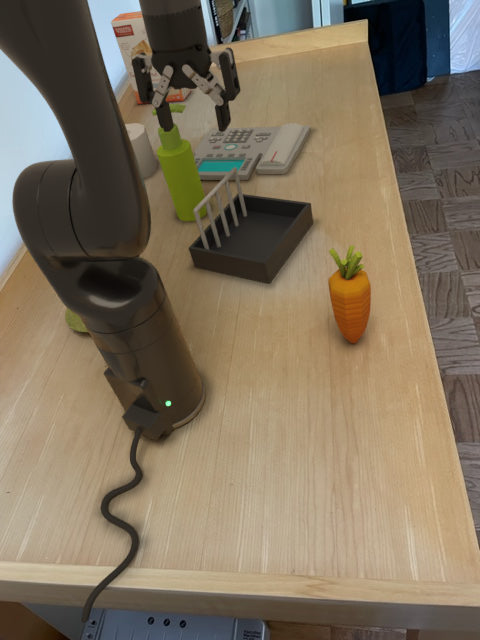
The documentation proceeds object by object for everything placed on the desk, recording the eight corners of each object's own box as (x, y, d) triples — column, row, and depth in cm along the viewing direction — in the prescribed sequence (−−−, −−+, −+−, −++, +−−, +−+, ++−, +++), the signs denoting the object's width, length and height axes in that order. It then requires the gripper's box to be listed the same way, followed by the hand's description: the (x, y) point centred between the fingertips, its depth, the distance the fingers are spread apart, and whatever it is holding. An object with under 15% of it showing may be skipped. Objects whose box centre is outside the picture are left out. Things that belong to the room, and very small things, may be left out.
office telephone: (310, 119, 112) (284, 168, 99) (311, 130, 114) (286, 181, 101) (209, 122, 120) (173, 169, 107) (211, 133, 122) (177, 180, 109)
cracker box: (137, 105, 144) (108, 21, 129) (146, 95, 148) (119, 12, 133) (184, 102, 139) (160, 13, 125) (192, 92, 143) (169, 5, 129)
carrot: (326, 339, 70) (315, 248, 60) (358, 323, 71) (353, 231, 61) (347, 362, 67) (339, 270, 57) (381, 345, 68) (379, 252, 58)
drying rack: (269, 284, 81) (257, 227, 74) (194, 267, 87) (177, 214, 80) (313, 223, 89) (306, 167, 82) (242, 212, 96) (230, 160, 89)
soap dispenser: (209, 220, 96) (179, 113, 83) (174, 222, 98) (138, 117, 85) (216, 202, 100) (188, 96, 87) (182, 204, 102) (150, 101, 89)
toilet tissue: (95, 178, 118) (79, 141, 112) (150, 155, 120) (138, 118, 114) (105, 194, 111) (89, 156, 105) (163, 170, 114) (151, 132, 108)
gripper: (106, 16, 66) (141, 141, 77) (214, 7, 61) (235, 141, 72) (132, -1, 71) (161, 119, 82) (233, -10, 67) (250, 117, 77)
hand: (196, 129), depth 77 cm, fingers open, 8 cm apart
